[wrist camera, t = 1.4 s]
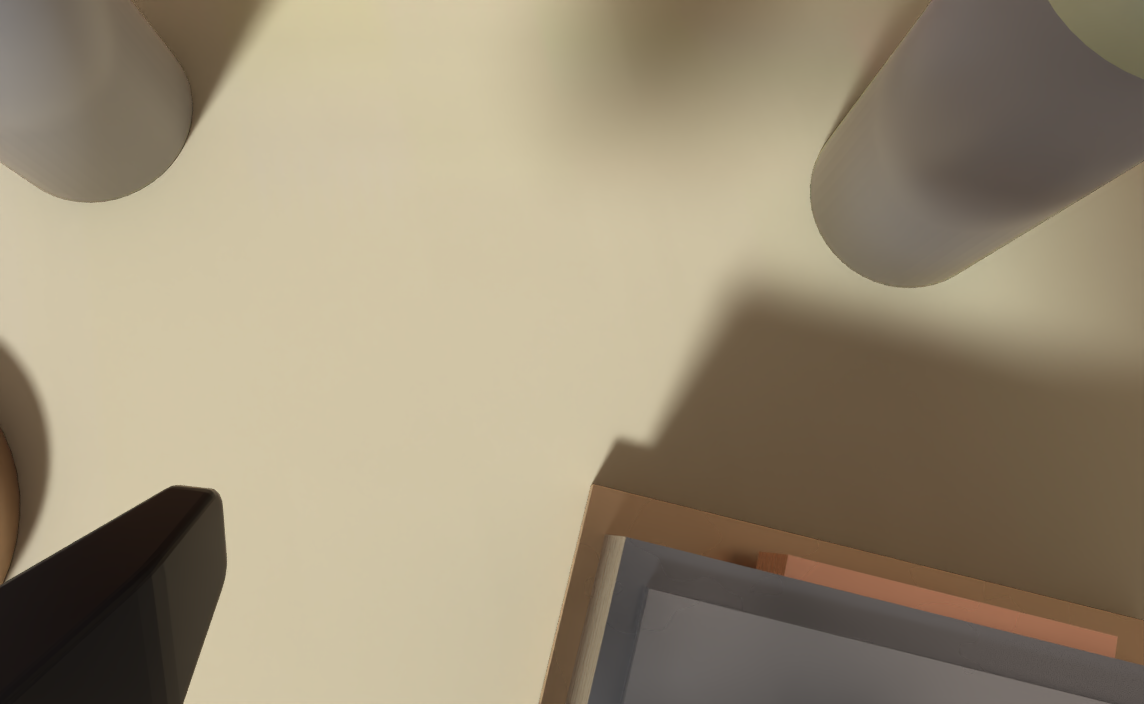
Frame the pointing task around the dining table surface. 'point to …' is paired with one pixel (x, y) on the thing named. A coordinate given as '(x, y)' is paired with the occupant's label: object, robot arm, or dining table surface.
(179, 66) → the cartridge
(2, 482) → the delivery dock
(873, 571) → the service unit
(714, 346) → the dining table surface
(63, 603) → the robot arm
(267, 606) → the dining table surface
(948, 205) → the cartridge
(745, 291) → the dining table surface
